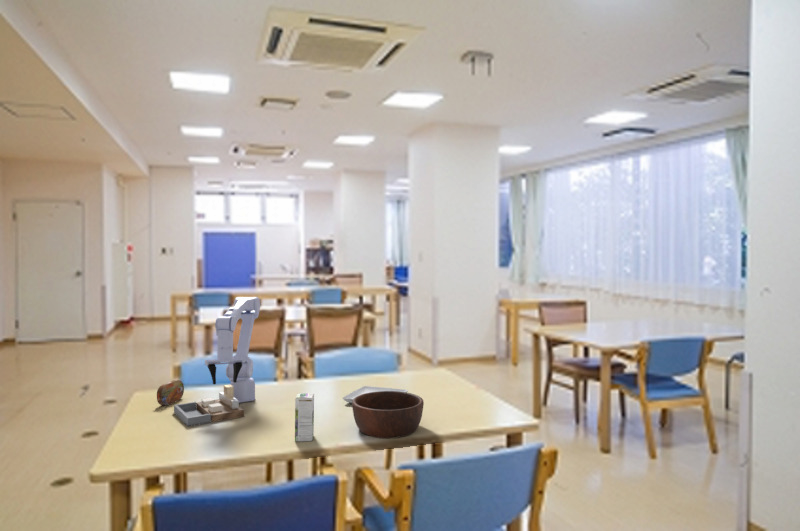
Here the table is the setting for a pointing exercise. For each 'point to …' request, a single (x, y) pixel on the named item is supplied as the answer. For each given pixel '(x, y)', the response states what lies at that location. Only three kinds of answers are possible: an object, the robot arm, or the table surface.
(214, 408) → the tile
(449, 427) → the table surface
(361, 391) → the salad plate
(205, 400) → the tile
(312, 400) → the syrup box
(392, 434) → the wooden bowl
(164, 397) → the tin
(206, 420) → the box
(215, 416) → the board
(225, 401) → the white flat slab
